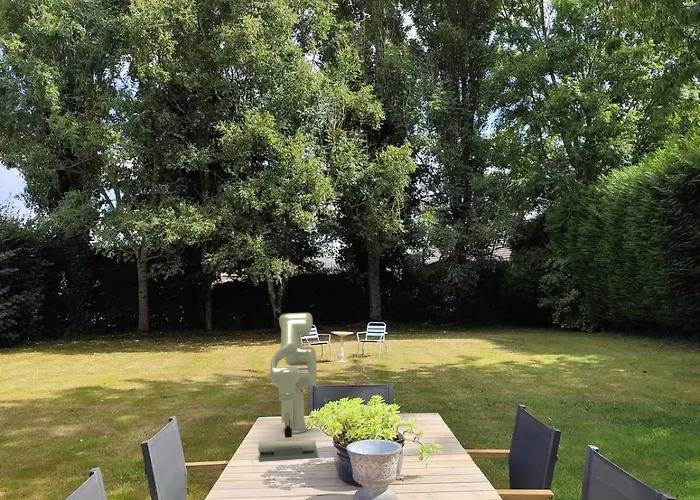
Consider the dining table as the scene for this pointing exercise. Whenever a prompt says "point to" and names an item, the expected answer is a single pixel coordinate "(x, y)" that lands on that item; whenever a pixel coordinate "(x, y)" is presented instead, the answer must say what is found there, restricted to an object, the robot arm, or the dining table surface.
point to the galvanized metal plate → (287, 454)
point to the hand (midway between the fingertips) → (288, 436)
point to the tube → (286, 445)
